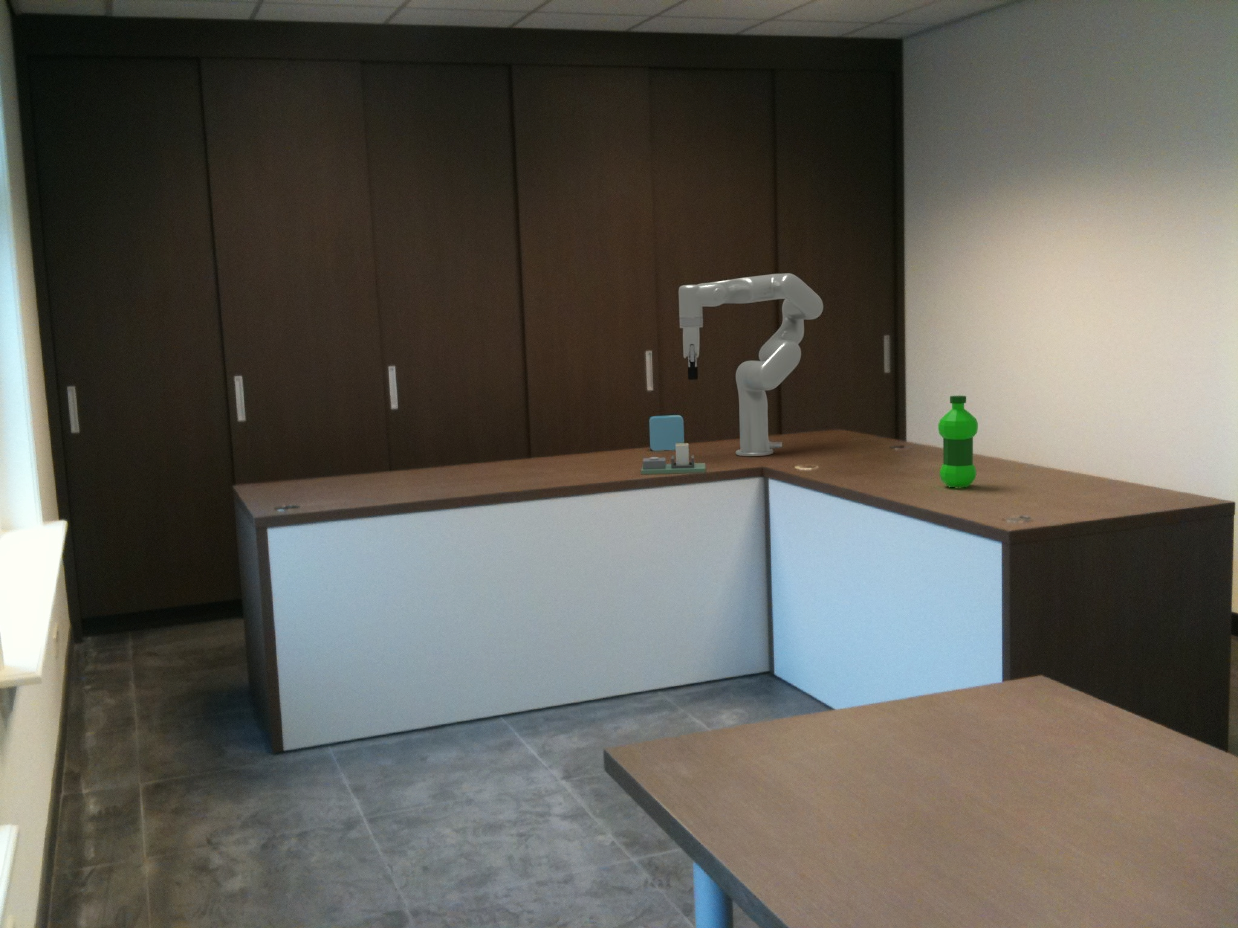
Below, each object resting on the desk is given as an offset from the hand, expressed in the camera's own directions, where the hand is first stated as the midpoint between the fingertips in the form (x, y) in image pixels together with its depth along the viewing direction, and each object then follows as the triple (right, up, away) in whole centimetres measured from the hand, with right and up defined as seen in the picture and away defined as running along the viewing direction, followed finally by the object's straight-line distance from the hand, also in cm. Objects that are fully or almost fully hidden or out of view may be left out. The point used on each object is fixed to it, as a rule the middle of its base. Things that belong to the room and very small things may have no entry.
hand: (693, 379), depth 399 cm
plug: (-4, -29, -15) cm, 32 cm away
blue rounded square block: (-7, -23, +34) cm, 42 cm away
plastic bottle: (+69, -34, -64) cm, 100 cm away
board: (-7, -30, -14) cm, 34 cm away
